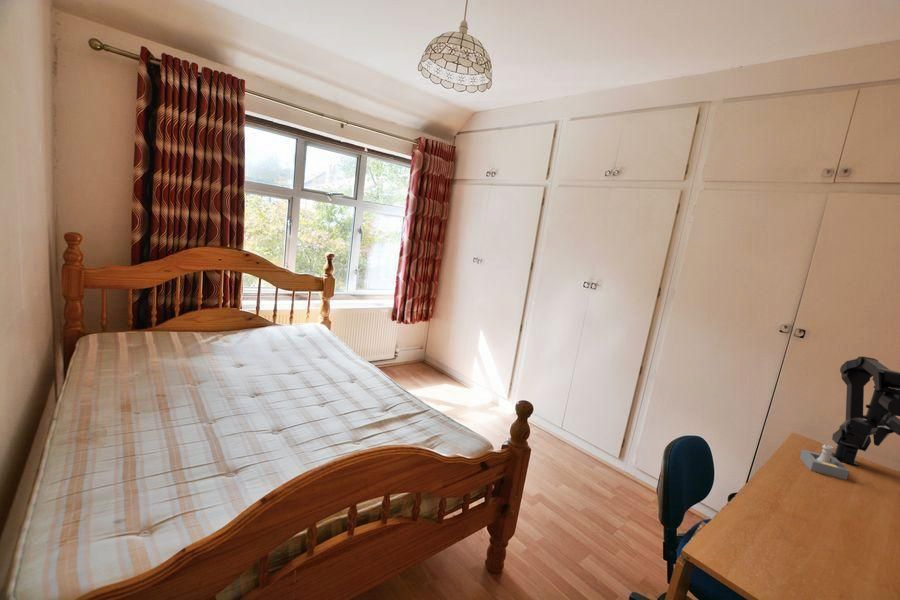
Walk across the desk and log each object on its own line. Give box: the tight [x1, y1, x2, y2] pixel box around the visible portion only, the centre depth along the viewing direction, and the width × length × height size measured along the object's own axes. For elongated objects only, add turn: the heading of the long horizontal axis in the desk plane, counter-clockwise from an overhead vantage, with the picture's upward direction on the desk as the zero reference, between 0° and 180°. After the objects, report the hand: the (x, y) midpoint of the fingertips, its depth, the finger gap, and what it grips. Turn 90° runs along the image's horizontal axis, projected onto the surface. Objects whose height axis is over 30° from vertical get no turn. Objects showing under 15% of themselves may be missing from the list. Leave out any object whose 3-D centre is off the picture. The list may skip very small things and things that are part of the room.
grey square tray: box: [799, 448, 850, 481], centre depth 146 cm, size 10×10×4 cm
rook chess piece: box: [816, 443, 835, 464], centre depth 146 cm, size 4×4×8 cm
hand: (868, 446), depth 142 cm, fingers open, 9 cm apart
